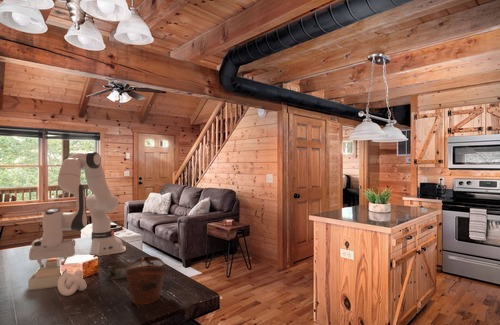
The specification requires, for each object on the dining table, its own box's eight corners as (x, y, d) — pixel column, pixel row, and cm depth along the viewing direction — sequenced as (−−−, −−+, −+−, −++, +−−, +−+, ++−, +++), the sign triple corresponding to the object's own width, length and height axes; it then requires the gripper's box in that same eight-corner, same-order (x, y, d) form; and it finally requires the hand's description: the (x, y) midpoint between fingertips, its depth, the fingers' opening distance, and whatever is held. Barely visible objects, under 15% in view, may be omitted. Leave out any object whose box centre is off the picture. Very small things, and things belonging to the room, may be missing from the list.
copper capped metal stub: (58, 274, 159) (58, 257, 159) (56, 278, 155) (56, 260, 155) (47, 276, 157) (47, 258, 157) (45, 279, 153) (45, 261, 153)
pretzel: (61, 288, 145) (61, 270, 144) (89, 284, 149) (89, 267, 149) (55, 298, 134) (55, 278, 134) (85, 294, 138) (85, 275, 138)
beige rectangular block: (59, 279, 153) (59, 267, 152) (57, 284, 147) (57, 271, 147) (39, 282, 149) (39, 269, 149) (35, 287, 144) (35, 273, 144)
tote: (69, 273, 163) (69, 264, 163) (62, 286, 147) (62, 276, 146) (39, 276, 158) (39, 267, 158) (28, 290, 141) (28, 280, 141)
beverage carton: (108, 275, 162) (108, 263, 162) (145, 270, 169) (145, 258, 169) (107, 280, 154) (108, 268, 154) (146, 275, 162) (146, 263, 162)
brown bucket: (151, 284, 149) (151, 249, 149) (175, 297, 137) (175, 259, 136) (116, 298, 135) (116, 259, 135) (139, 313, 123) (139, 270, 122)
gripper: (76, 236, 163) (76, 261, 163) (31, 240, 155) (31, 266, 155) (74, 239, 157) (74, 265, 157) (27, 243, 149) (27, 270, 149)
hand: (52, 266), depth 156 cm, fingers open, 8 cm apart
